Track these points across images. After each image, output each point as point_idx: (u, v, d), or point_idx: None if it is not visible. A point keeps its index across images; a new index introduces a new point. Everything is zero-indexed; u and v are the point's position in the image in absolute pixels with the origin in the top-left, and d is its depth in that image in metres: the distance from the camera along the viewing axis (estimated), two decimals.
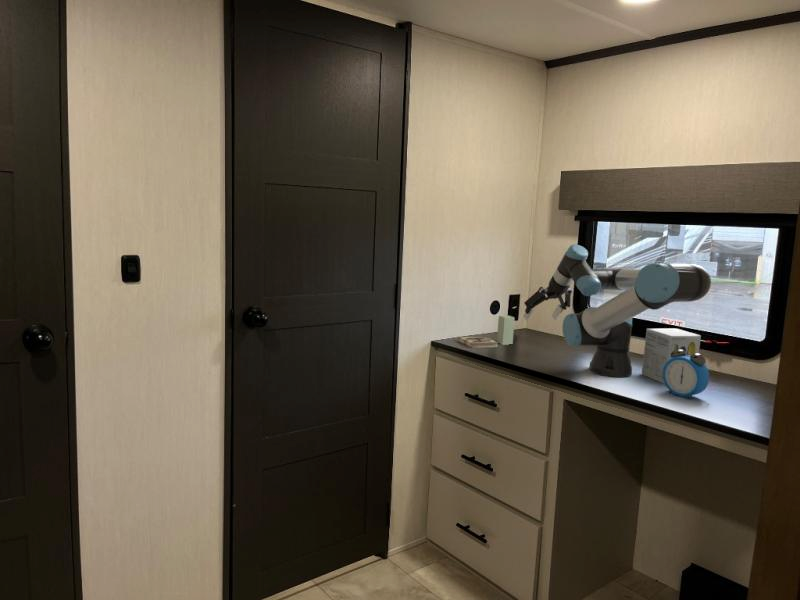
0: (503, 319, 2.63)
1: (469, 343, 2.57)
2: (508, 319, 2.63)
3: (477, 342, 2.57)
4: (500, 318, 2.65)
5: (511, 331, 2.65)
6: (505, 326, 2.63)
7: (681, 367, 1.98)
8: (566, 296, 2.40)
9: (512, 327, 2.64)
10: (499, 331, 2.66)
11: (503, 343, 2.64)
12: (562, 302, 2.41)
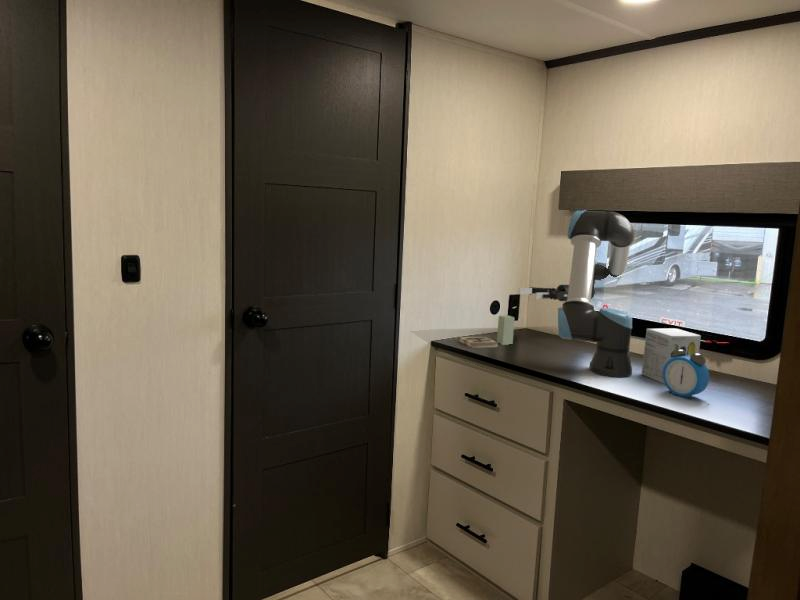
0: (503, 319, 2.63)
1: (469, 343, 2.57)
2: (508, 319, 2.63)
3: (477, 342, 2.57)
4: (500, 318, 2.65)
5: (511, 331, 2.65)
6: (505, 326, 2.63)
7: (681, 367, 1.98)
8: None
9: (512, 327, 2.64)
10: (499, 331, 2.66)
11: (503, 343, 2.64)
12: (553, 292, 2.66)
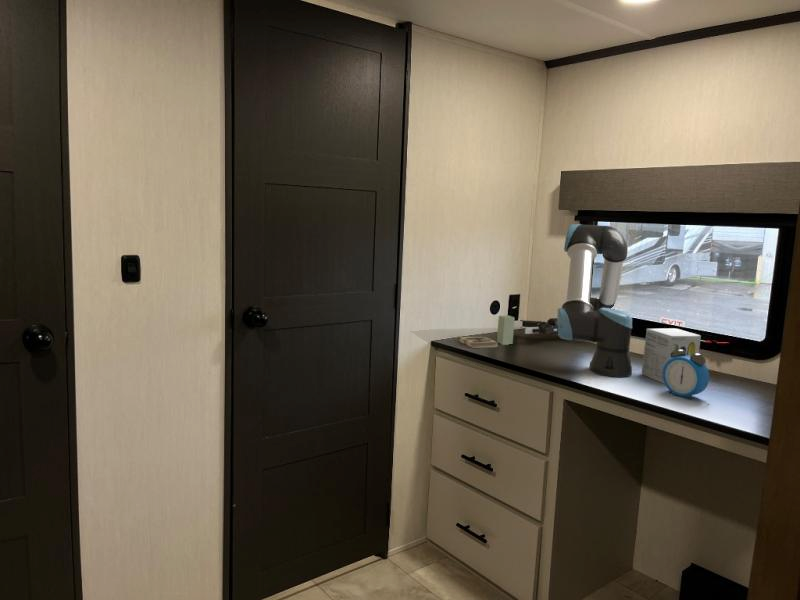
0: (503, 319, 2.63)
1: (469, 343, 2.57)
2: (508, 319, 2.63)
3: (477, 342, 2.57)
4: (500, 318, 2.65)
5: (511, 331, 2.65)
6: (505, 326, 2.63)
7: (681, 367, 1.98)
8: None
9: (512, 327, 2.64)
10: (499, 331, 2.66)
11: (503, 343, 2.64)
12: (543, 326, 2.67)
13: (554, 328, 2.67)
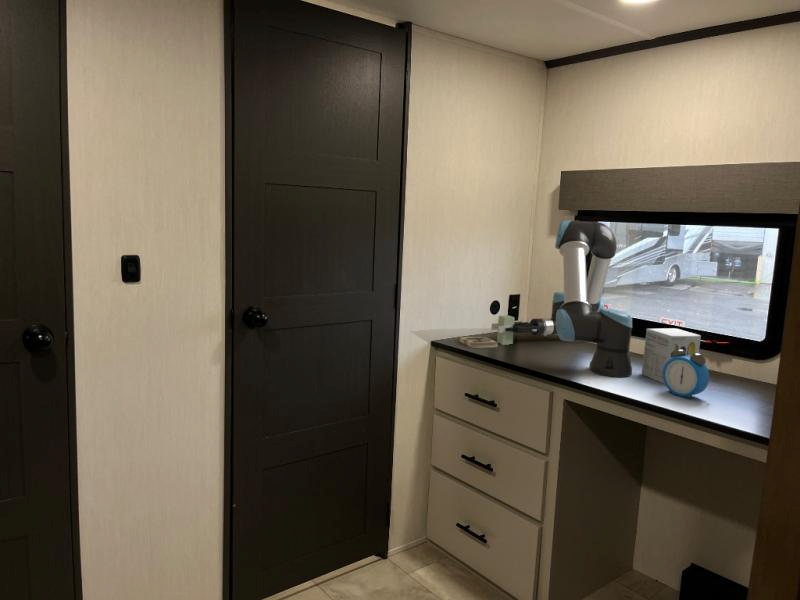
0: (503, 319, 2.63)
1: (469, 343, 2.57)
2: (508, 319, 2.63)
3: (477, 342, 2.57)
4: (500, 318, 2.65)
5: None
6: (505, 325, 2.63)
7: (681, 367, 1.98)
8: None
9: (512, 327, 2.64)
10: None
11: (503, 343, 2.64)
12: (520, 326, 2.65)
13: (532, 328, 2.64)
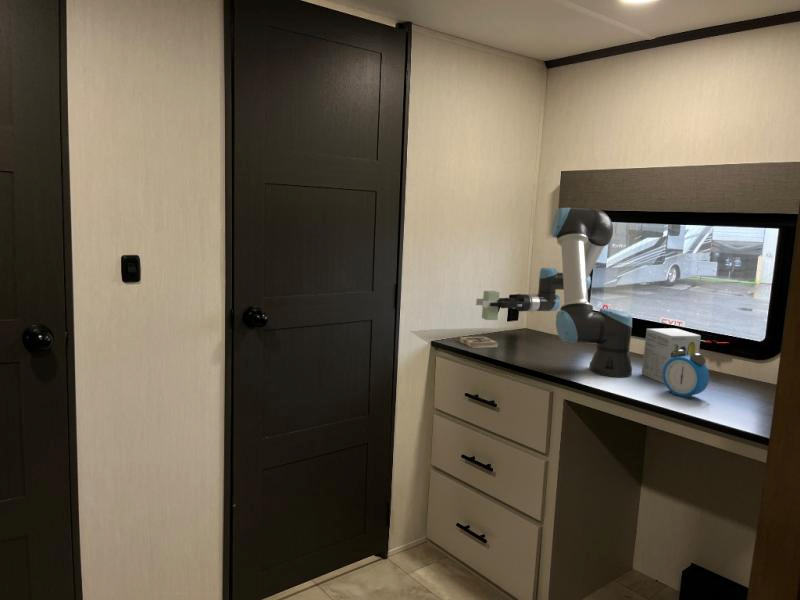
0: (488, 294, 2.60)
1: (469, 343, 2.57)
2: (493, 294, 2.59)
3: (477, 342, 2.57)
4: (485, 293, 2.62)
5: None
6: (489, 300, 2.59)
7: (681, 367, 1.98)
8: None
9: None
10: None
11: (488, 318, 2.61)
12: (505, 301, 2.62)
13: (517, 303, 2.60)
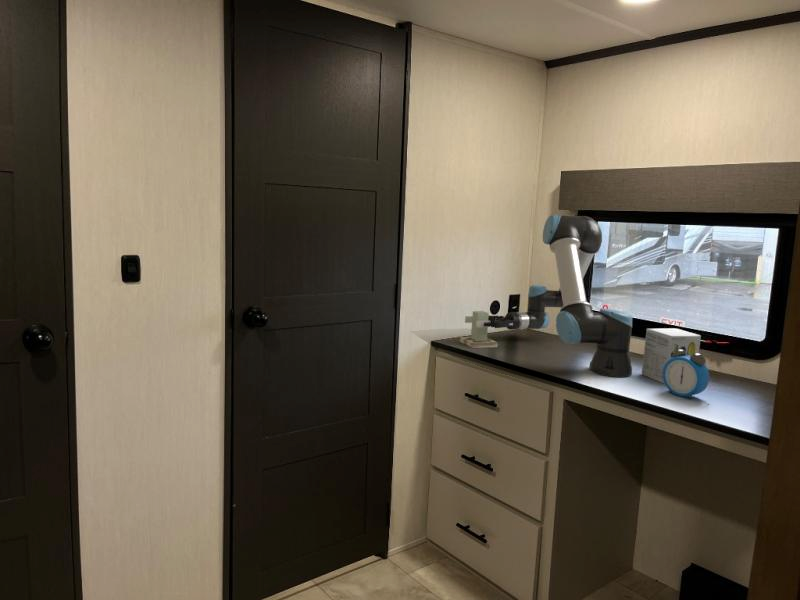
0: (477, 315, 2.58)
1: (469, 343, 2.57)
2: (482, 315, 2.58)
3: (477, 342, 2.57)
4: (474, 314, 2.61)
5: (485, 327, 2.60)
6: None
7: (681, 367, 1.98)
8: None
9: None
10: (473, 327, 2.61)
11: (477, 339, 2.59)
12: (497, 320, 2.59)
13: (509, 322, 2.59)
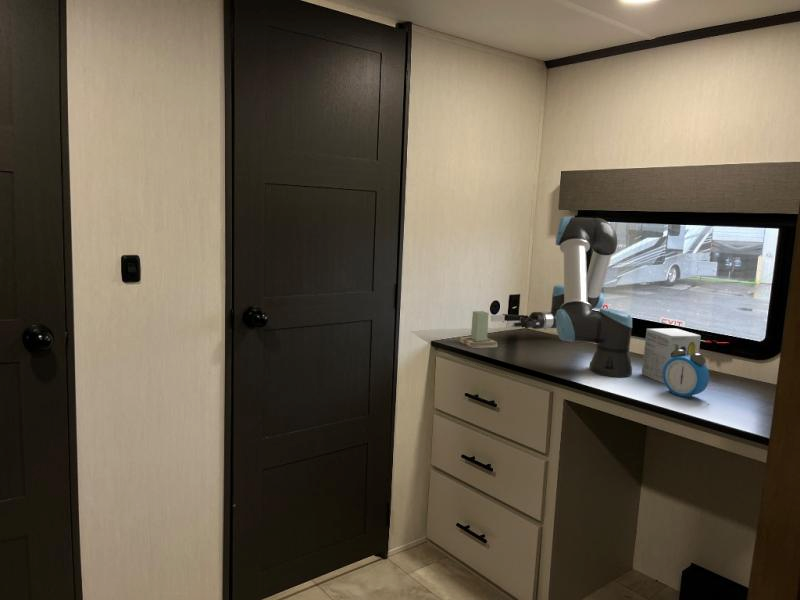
0: (477, 315, 2.58)
1: (469, 343, 2.57)
2: (482, 315, 2.58)
3: (477, 342, 2.57)
4: (474, 314, 2.61)
5: (485, 327, 2.60)
6: (478, 321, 2.58)
7: (681, 367, 1.98)
8: None
9: (486, 323, 2.59)
10: (473, 327, 2.61)
11: (477, 339, 2.59)
12: (525, 320, 2.63)
13: (536, 322, 2.63)
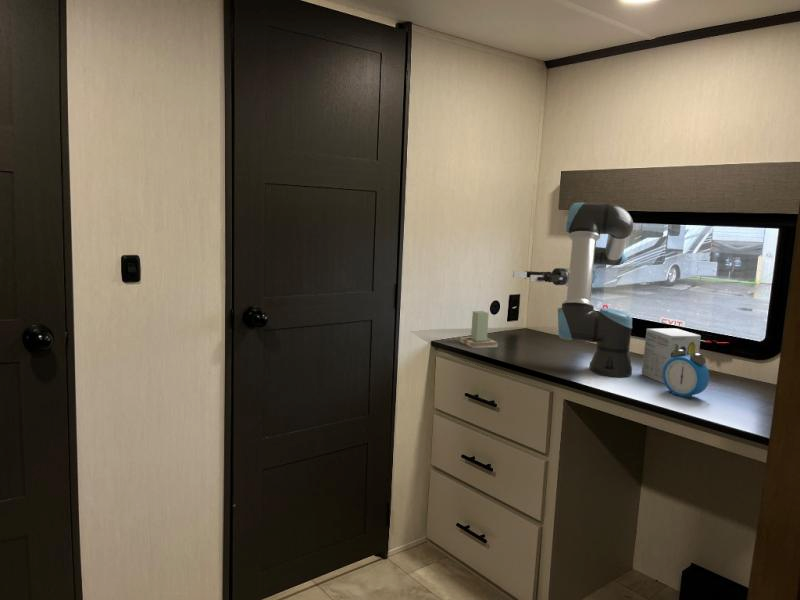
0: (477, 315, 2.58)
1: (469, 343, 2.57)
2: (482, 315, 2.58)
3: (477, 342, 2.57)
4: (474, 314, 2.61)
5: (485, 327, 2.60)
6: (478, 321, 2.58)
7: (681, 367, 1.98)
8: None
9: (486, 323, 2.59)
10: (473, 327, 2.61)
11: (477, 339, 2.59)
12: (548, 275, 2.61)
13: (559, 277, 2.61)
